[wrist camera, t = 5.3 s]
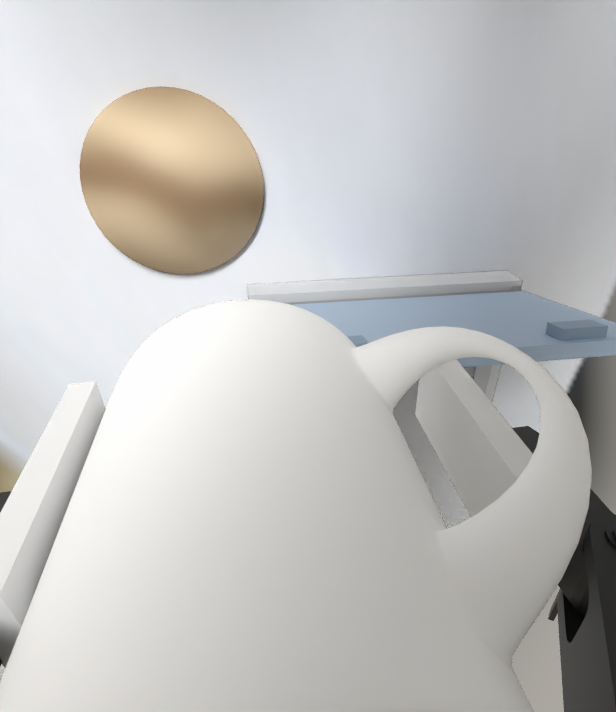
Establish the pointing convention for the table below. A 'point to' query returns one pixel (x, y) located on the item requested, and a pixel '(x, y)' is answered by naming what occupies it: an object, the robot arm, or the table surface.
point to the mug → (291, 533)
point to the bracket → (394, 287)
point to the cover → (476, 321)
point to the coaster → (171, 180)
